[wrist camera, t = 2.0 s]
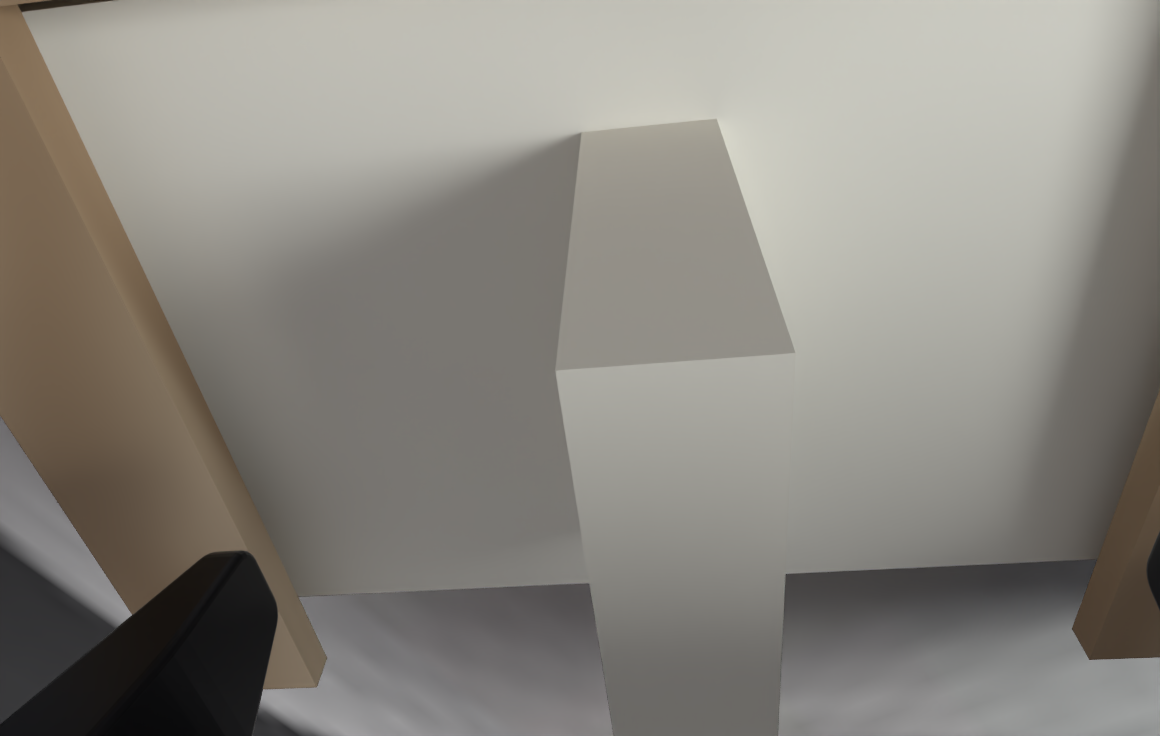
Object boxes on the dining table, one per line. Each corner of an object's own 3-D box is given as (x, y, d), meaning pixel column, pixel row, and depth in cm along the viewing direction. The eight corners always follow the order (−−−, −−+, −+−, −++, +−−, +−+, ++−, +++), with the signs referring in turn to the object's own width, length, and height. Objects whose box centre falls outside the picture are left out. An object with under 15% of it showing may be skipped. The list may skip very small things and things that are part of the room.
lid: (1341, -164, 8) (2371, -140, 3) (1101, 514, 14) (1366, 892, 9) (29, 1, 10) (-564, 183, 5) (286, 556, 15) (132, 902, 11)
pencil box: (1356, -281, 10) (1842, -348, 6) (1105, 458, 16) (1255, 653, 13) (3, -94, 11) (-309, -50, 8) (275, 506, 18) (183, 692, 14)
